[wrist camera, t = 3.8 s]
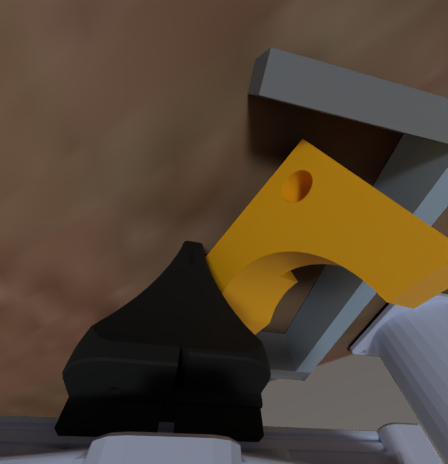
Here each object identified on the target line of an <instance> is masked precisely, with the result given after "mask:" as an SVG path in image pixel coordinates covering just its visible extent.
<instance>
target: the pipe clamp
mask: <svg viewBox="0 0 448 464" xmlns="http://www.w3.org/2000/svg"><path fill="white" fill-rule="evenodd" d="M205 258H206V261H207V264H208V266H209V269H210V271H211V273H212V276H213V278H214V280H215V282H216V284H217V286H218V288H219V289H220V291H221V293H222V294H223V296H224V298H225V299H226V301H227V302H228V304H229V305H230V306H231V308H232V309H233V310H234V312H235V313H236V314H237V316H238V317H239V318H240V319H241V321H242V322H243V323H244V324H245V325H246V326H247V328H248V329H249V330H250V331H252V332H253V333H254V334H255V335H256V334H257V333H258V332H259V331H261V330H262V329H263V328H264V327H266V326H267V325H268V324H269V323H270V321H271V318H272V315H273V312H274V310H275V308H276V306H277V304H278V302H279V301H280V299H281V298H282V297H283V295H284V294H285V293H286V292H287V291H288V290H289V289H290V288H291V287H292V286H293V285H294V284H296V283H297V282H298V281H297V280H296V278H295V276H294V275H293V273H292V272H291V270H293V269H295V268H298V267H302V266H306V265H312V264H330V265H337V266H343V267H344V268H346V269H348V270H349V271H351V272H352V273H354V274H355V275H357V276H358V277H359V278H361V279H362V280H363V281H364V282H366V283H367V284H368V285H369V286H370V287H372V288H373V289H374V290H375V291H376V292H377V293H378V294H379V295H380V296H381V297H382V298H383V299H384V300H385V301H386V302H387V303H392V304H396V305H400V306H404V307H408V308H412V309H414V308H416V307H418V306H419V305H421V304H423V303H424V302H426V301H428V300H429V299H431V298H433V297H435V296H436V295H438V294H440V293H441V292H443V291H445V290H446V289H448V238H447V237H446V236H444V235H443V234H441V233H440V232H438V231H437V230H435V229H434V228H432V227H431V226H429V225H428V224H427V223H425V222H424V221H422V220H421V219H419V218H418V217H416V216H415V215H413V214H412V213H410V212H409V211H408V210H406V209H405V208H403V207H402V206H400V205H399V204H397V203H396V202H394V201H393V200H392V199H390V198H389V197H387V196H386V195H384V194H383V193H381V192H380V191H378V190H377V189H375V188H374V187H373V186H371V185H370V184H368V183H367V182H365V181H364V180H362V179H361V178H359V177H358V176H357V175H355V174H354V173H352V172H351V171H349V170H348V169H346V168H345V167H343V166H342V165H340V164H339V163H338V162H336V161H335V160H333V159H332V158H330V157H329V156H327V155H326V154H324V153H323V152H322V151H320V150H319V149H317V148H316V147H314V146H313V145H311V144H310V143H308V142H307V141H305V140H304V139H302V140H301V141H300V142H299V144H298V145H297V146H296V147H295V149H294V150H293V151H292V152H291V153H290V155H289V156H288V157H287V158H286V160H285V161H284V162H283V163H282V164H281V166H280V167H279V168H278V169H277V171H276V172H275V173H274V174H273V175H272V177H271V178H270V179H269V180H268V182H267V183H266V184H265V185H264V186H263V188H262V189H261V190H260V191H259V193H258V194H257V195H256V196H255V197H254V199H253V200H252V201H251V202H250V204H249V205H248V206H247V207H246V208H245V210H244V211H243V212H242V213H241V214H240V216H239V217H238V218H237V219H236V221H235V222H234V223H233V224H232V225H231V227H230V228H229V229H228V230H227V232H226V233H225V234H224V235H223V236H222V238H221V239H220V240H219V241H218V243H217V244H216V245H215V246H214V247H213V249H212V250H211V251H210V252H209V254H208V255H207V256H206V257H205Z"/></svg>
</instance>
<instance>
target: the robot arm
mask: <svg viewBox="0 0 448 464" xmlns="http://www.w3.org/2000/svg"><path fill="white" fill-rule="evenodd" d="M350 350H351V352H352V353H353V354H358V355H368V356H378V357H381V359H382V361H383V362H384V364H385V365H386V367H387V369H388V370H389V372H390V374H391V375H392V377H393V379H394V380H395V382H396V383H397V385H398V386H399V388H400V390H401V392H402V393H403V395H404V396H405V398H406V400H407V401H408V403H409V405H410V406H411V408H412V409H413V411H414V413H415V414H416V416H417V418H418V419H419V421H420V423H421V424H422V426H423V427H424V429H425V431H426V432H427V434H428V435H429V437H430V439H431V440H432V442H433V444H434V445H435V447H436V448H437V450H438V452H439V453H440V455H441V457H442V458H443V460H444V462H445V463H446V464H448V294H442V293H440V294H438V295H436V296H435V297H433V298H431V299H429V300H428V301H426V302H424V303H423V304H421V305H419V306H418V307H416V308H414V309H412V308H408V307H404V306H400V305H396V304H392V303H390V304H389V305H388V306H387V307H386V308H385V309H384V310H383V311H382V313H381V314H380V315H379V316H378V317H377V318H376V319H375V320H374V321H373V323H372V324H371V325H370V326H369V327H368V328H367V329H366V330H365V332H364V333H363V334H362V335H361V336H360V337H359V338H358V339H357V340H356V342H355V343H354V344H353V345H352V346H351V347H350ZM62 374H63V380H64V383H65V386H66V389H67V392H68V395H69V398H68V400H67V402H66V404H65V406H64V409H63V411H62V413H61V415H60V417H59V418H57V417H34V416H10V415H0V464H443V462H442V461H441V459H440V458H439V456H438V454H437V453H436V451H435V449H434V448H433V446H432V444H431V443H430V441H429V439H428V438H427V436H426V435H425V433H424V431H423V430H422V428H421V426H420V425H418V424H413V423H388V424H385V425H383V426H381V427H380V428H379V429H378V431H364V430H363V431H362V430H340V429H316V428H292V427H268V426H263V425H262V417H261V410H260V408H262V398H261V392H262V391H263V389H264V388H265V386H266V385H267V383H268V382H269V380H270V377H271V371H270V365H269V361H268V357H267V354H266V351H265V348H264V346H263V343H262V341H261V340H260V339H259V338H258V337H257V336H256V335H255V334H254V333H253V332H252V331H250V330H249V329H248V328H247V326H246V325H245V324H244V323H243V322H242V321H241V319H240V318H239V317H238V316H237V314H236V313H235V312H234V310H233V309H232V308H231V306H230V305H229V304H228V302H227V301H226V299H225V298H224V296H223V294H222V293H221V291H220V289H219V288H218V286H217V284H216V282H215V280H214V278H213V276H212V273H211V271H210V269H209V266H208V264H207V261H206V258H205V254H204V250H203V245H202V244H201V243H197V242H191V241H185V242H184V243H183V246H182V248H181V249H180V251H179V253H178V254H177V256H176V257H175V258H174V260H173V261H172V262H171V264H170V265H169V266H168V267H167V268H166V269H165V271H164V272H163V273H162V274H161V275H160V276H159V277H158V278H157V279H156V280H155V281H154V282H153V283H152V284H151V285H150V286H149V287H148V288H146V289H145V290H144V291H143V292H142V293H141V294H139V295H138V296H137V297H136V298H134V299H133V300H132V301H130V302H129V303H127V304H126V305H124V306H123V307H122V308H120V309H119V310H117V311H116V312H114V313H113V314H111V315H109V316H108V317H106V318H104V319H103V320H101V321H99V322H98V323H96V324H94V325H92V326H91V327H90V329H89V330H88V331H87V332H86V334H85V335H84V336H83V338H82V339H81V341H80V342H79V343H78V345H77V346H76V348H75V349H74V351H73V353H72V355H71V357H70V359H69V360H68V362H67V364H66V366H65V368H64V370H63V372H62Z"/></svg>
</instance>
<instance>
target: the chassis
mask: <svg viewBox="0 0 448 464" xmlns="http://www.w3.org/2000/svg"><path fill="white" fill-rule="evenodd" d="M248 94H250V95H254V96H258V97H262V98H266V99H269V100H273V101H277V102H281V103H285V104H289V105H293V106H297V107H301V108H304V109H308V110H312V111H316V112H320V113H324V114H328V115H332V116H336V117H340V118H343V119H347V120H351V121H355V122H359V123H363V124H367V125H371V126H375V127H379V128H382V129H386V130H390V131H394V132H398V133H402V134H404V135H403V136H402V138H401V140H400V141H399V143H398V145H397V146H396V148H395V150H394V151H393V153H392V155H391V156H390V158H389V160H388V162H387V163H386V165H385V167H384V168H383V170H382V172H381V173H380V175H379V177H378V178H377V180H376V182H375V183H374V185H373V187H374V188H375V189H377V190H378V191H380V192H381V193H383V194H384V195H386V196H387V197H389V198H390V199H392V200H393V201H394V202H396V203H397V204H399V205H400V206H402V207H403V208H405V209H406V210H408V211H409V212H410V213H412V214H413V215H415V216H416V217H418V218H419V219H421V220H422V221H424V222H425V223H427V224H428V225H429V226H432V224H433V223H434V222H435V221H436V219H437V218H438V217H439V216H440V215H441V213H442V212H443V211H444V210H445V208H446V207H447V206H448V98H445V97H442V96H438V95H435V94H431V93H428V92H424V91H421V90H417V89H414V88H411V87H407V86H404V85H400V84H397V83H393V82H390V81H386V80H383V79H379V78H376V77H373V76H369V75H366V74H362V73H359V72H355V71H352V70H348V69H345V68H342V67H338V66H335V65H331V64H328V63H324V62H321V61H317V60H314V59H311V58H307V57H304V56H300V55H297V54H293V53H290V52H286V51H283V50H279V49H276V48H273V47H270V48H269V49H268V50H267V51H266V52H264V53H263V54H262V55H261V56H259V57H258V58H257V59H256V61H255V65H254V69H253V74H252V78H251V82H250V87H249V91H248ZM376 293H377V292H376V291H375V290H374V289H373V288H372V287H370V286H369V285H368V284H367V283H366V282H364V281H363V280H362V279H361V278H359V277H358V276H357V275H355V274H354V273H352V272H351V271H349V270H348V269H346V268H344V267H343V266H337V265H330V264H326V266H325V268H324V269H323V271H322V273H321V274H320V276H319V278H318V279H317V281H316V283H315V284H314V286H313V288H312V290H311V291H310V293H309V295H308V296H307V298H306V300H305V301H304V303H303V305H302V306H301V308H300V310H299V311H298V313H297V315H296V316H295V318H294V320H293V322H292V323H291V325H290V327H289V328H288V330H287V332H286V333H285V334H283V333H274V332H264V331H259V332H258V333H257V334H256V336H257V337H258V338H259V339H260V340H261V341H262V343H263V346H264V348H265V351H266V354H267V357H268V361H269V365H270V371H271V377H270V378H279V379H292V380H303V381H304V380H305V379H306V378H307V377H308V375H309V374H310V373H311V372H312V371H313V370H314V368H315V367H316V366H317V365H318V364H319V362H320V361H321V360H322V359H323V357H324V356H325V355H326V354H327V353H328V351H329V350H330V349H331V348H332V346H333V345H334V344H335V343H336V342H337V340H338V339H339V338H340V337H341V335H342V334H343V333H344V332H345V331H346V329H347V328H348V327H349V326H350V324H351V323H352V322H353V321H354V320H355V318H356V317H357V316H358V315H359V313H360V312H361V311H362V310H363V309H364V307H365V306H366V305H367V304H368V302H369V301H370V300H371V299H372V298H373V296H374V295H375V294H376Z"/></svg>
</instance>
